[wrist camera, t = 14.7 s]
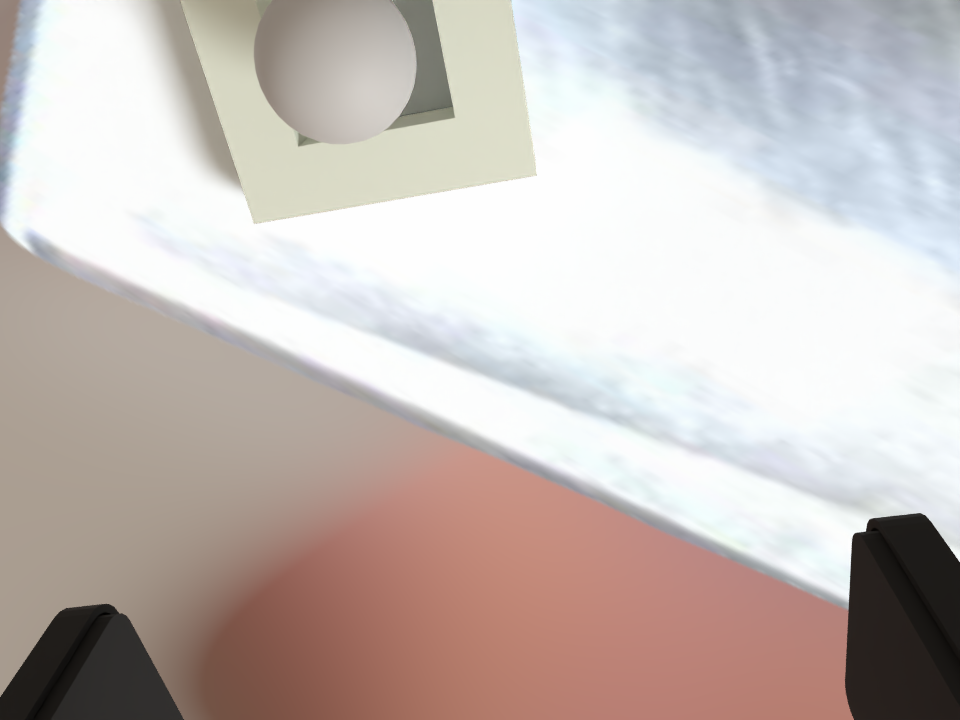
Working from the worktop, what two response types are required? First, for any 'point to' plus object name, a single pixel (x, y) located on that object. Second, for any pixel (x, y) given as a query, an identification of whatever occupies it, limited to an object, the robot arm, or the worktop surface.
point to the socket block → (394, 152)
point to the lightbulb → (335, 66)
